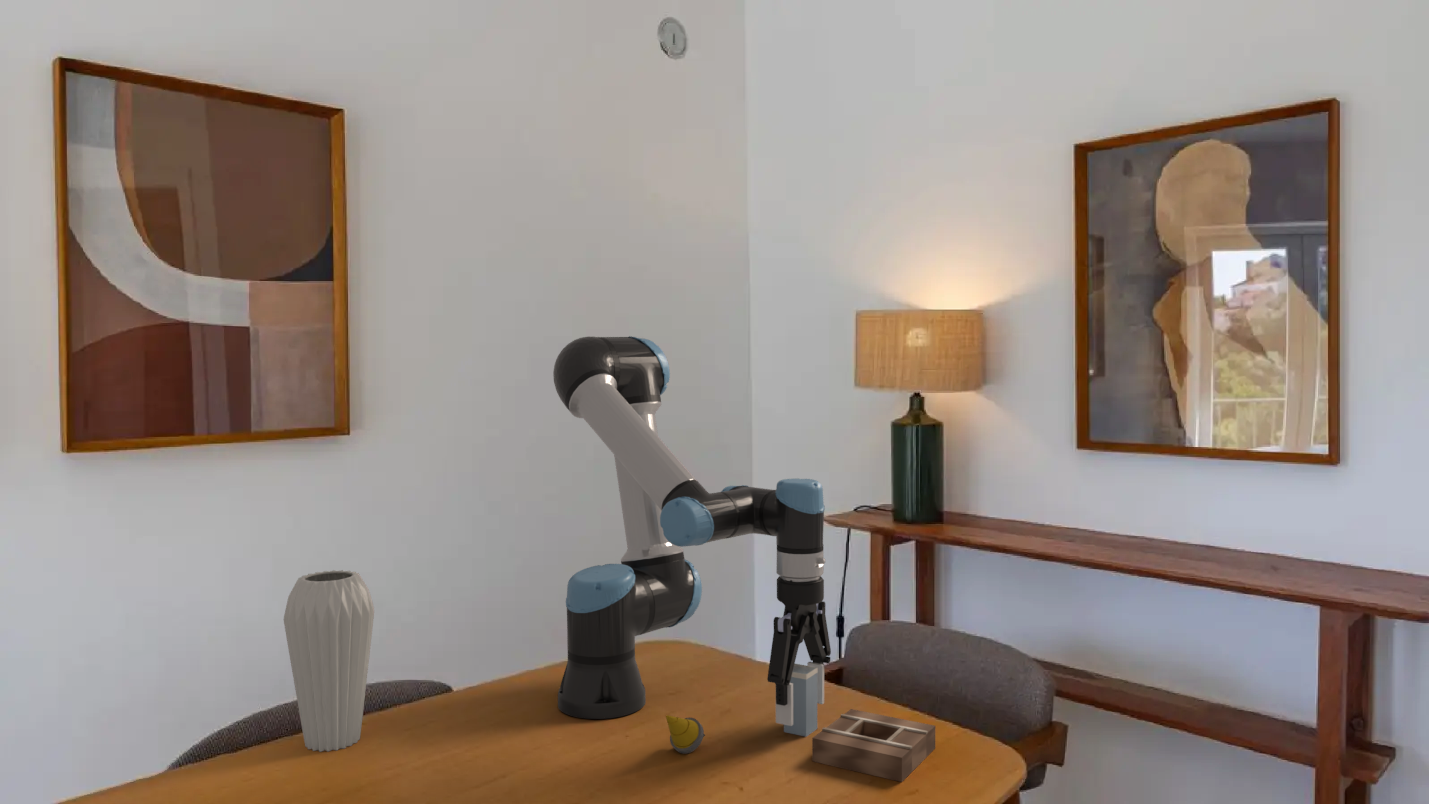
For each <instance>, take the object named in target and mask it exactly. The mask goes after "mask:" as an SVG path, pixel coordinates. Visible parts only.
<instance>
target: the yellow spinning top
mask: <svg viewBox="0 0 1429 804" xmlns="http://www.w3.org/2000/svg"><path fill="white" fill-rule="evenodd" d="M665 718H666V721H667V726H668V729H669V730H668V731H669V733H670V736H669V742H670V745H671V746H672V748H673V749H674V750H675V751H677V752H678V753H680V754H684V755H685V754H690V753H692V752H695V750H697V749H698V748H699V746H700V745H701V743H702V741H703V739H704V737H705V736H706V734H705V733H704V727H703V725H702V724H701V722H700V721H699V720H697V719H696V718H693V717H685V718H684V717H683V718H682V717H678V716H675V715H674V716H673V715H665Z"/></svg>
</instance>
